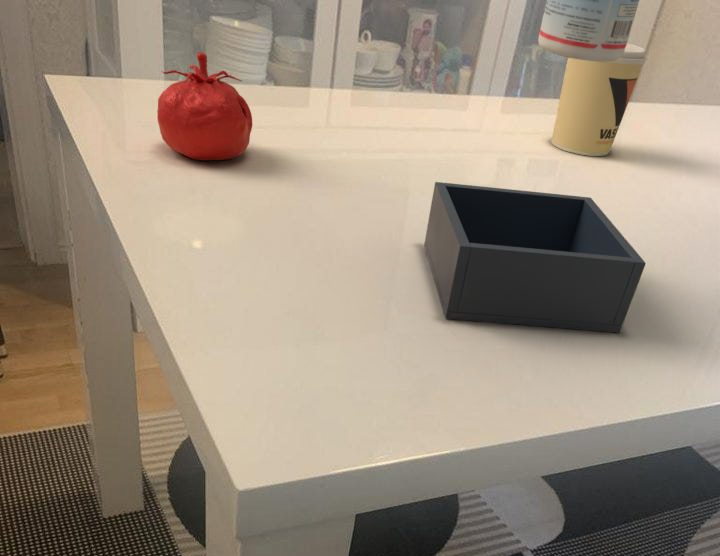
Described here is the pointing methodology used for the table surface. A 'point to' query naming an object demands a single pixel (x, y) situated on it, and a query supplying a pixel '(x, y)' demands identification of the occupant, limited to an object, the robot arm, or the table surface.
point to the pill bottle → (587, 28)
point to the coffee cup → (595, 102)
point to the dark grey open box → (529, 259)
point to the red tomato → (204, 115)
